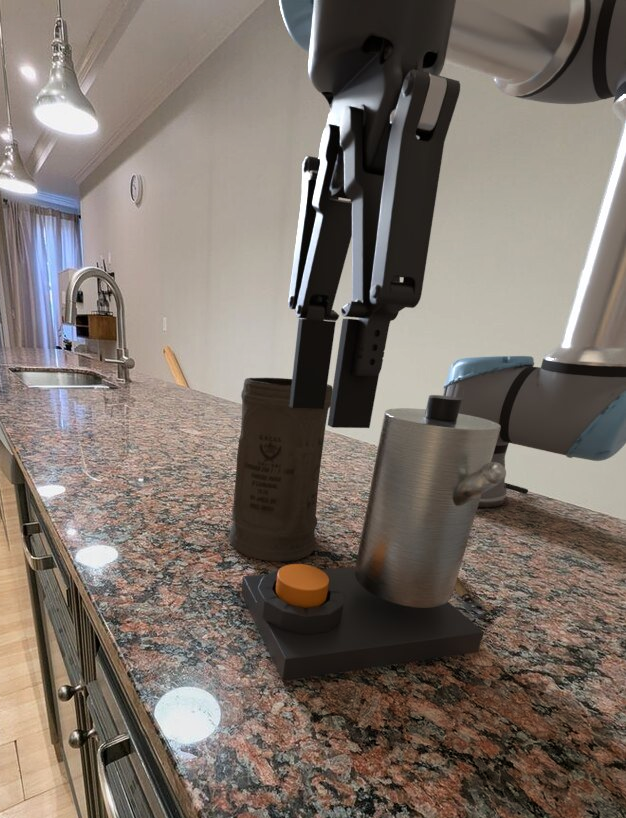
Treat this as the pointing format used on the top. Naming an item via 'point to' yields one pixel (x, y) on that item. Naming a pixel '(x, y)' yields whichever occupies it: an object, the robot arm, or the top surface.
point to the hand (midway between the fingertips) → (325, 415)
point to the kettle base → (352, 628)
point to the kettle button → (302, 585)
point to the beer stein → (277, 472)
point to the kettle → (425, 501)
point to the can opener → (468, 599)
